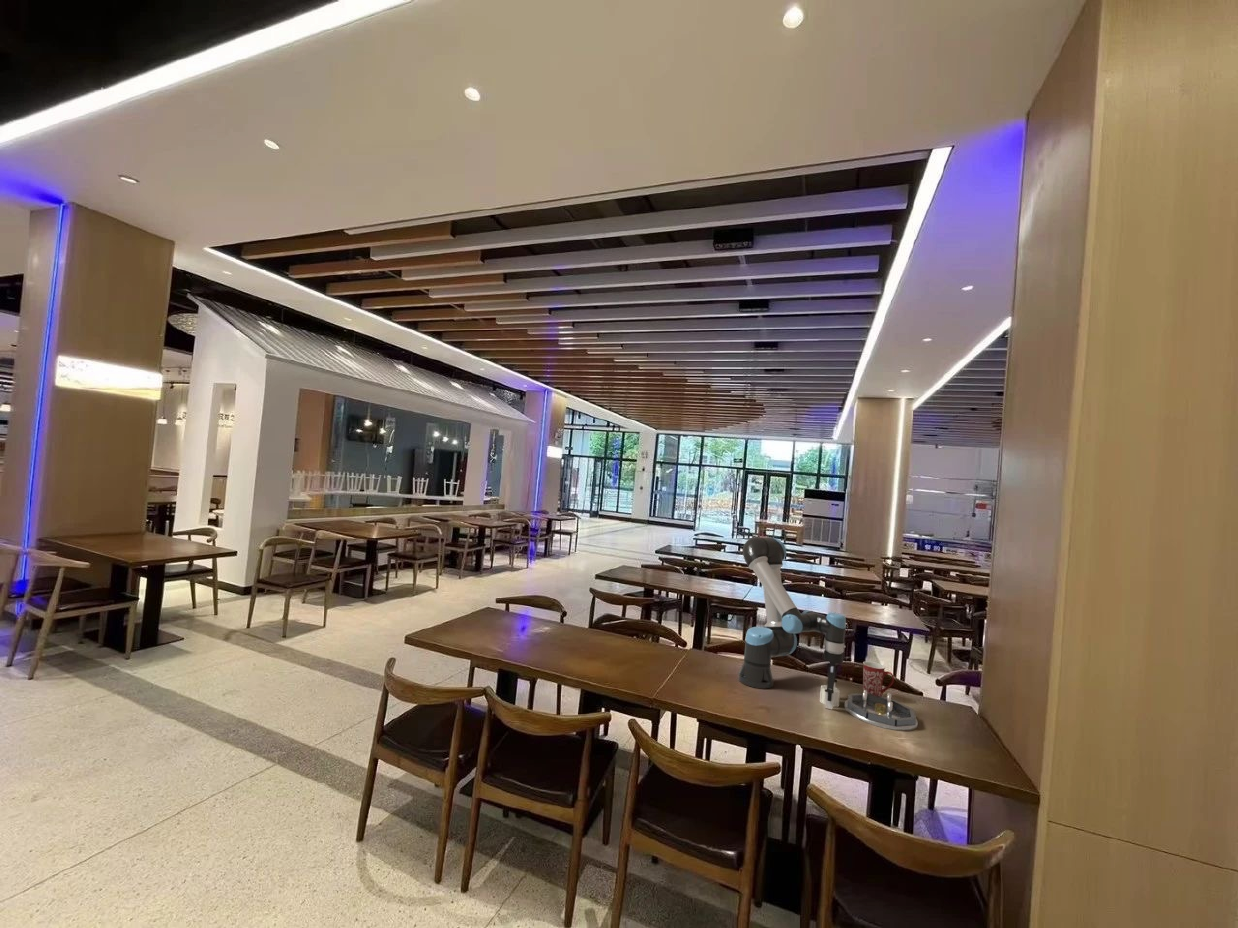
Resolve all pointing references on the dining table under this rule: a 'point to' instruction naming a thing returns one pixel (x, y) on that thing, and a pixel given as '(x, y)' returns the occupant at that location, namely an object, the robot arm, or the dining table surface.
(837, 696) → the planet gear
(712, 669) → the dining table surface
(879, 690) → the mug
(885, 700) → the tray
